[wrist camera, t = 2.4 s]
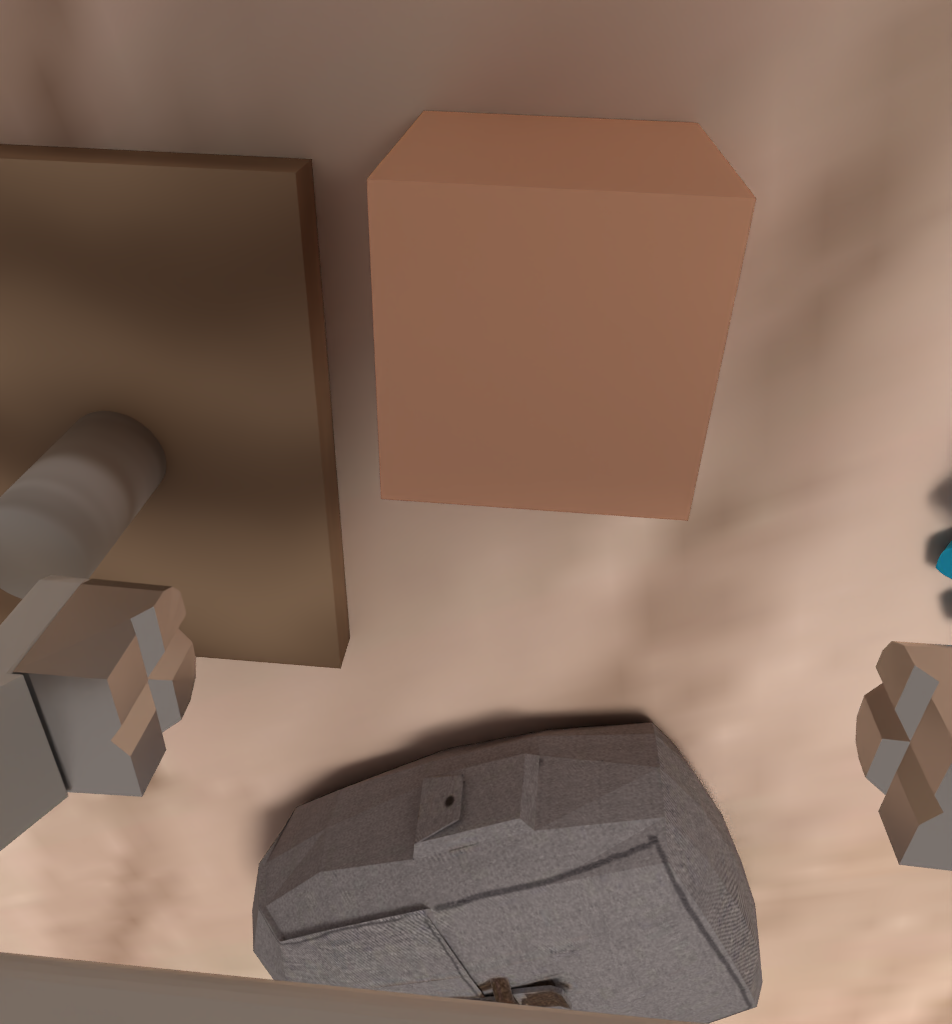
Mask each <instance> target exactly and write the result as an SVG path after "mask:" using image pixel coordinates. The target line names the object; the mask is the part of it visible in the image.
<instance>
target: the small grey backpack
mask: <svg viewBox="0 0 952 1024" xmlns="http://www.w3.org/2000/svg"><path fill="white" fill-rule="evenodd" d="M252 914H253V951H254V953H255V954H256V955H257V957H258V958H259V960H260V961H261V962H262V964H263V965H264V967H265V968H266V970H267V971H268V972H269V974H270V975H271V977H272V978H273V979H274V980H280V981H290V982H300V983H310V984H320V985H330V986H340V987H350V988H360V989H369V990H379V991H389V992H399V993H409V994H419V995H429V996H439V997H449V998H459V999H469V1000H479V1001H489V1002H499V1003H509V1004H518V1005H528V1006H538V1007H548V1008H558V1009H568V1010H578V1011H588V1012H598V1013H608V1014H618V1015H628V1016H638V1017H648V1018H658V1019H668V1020H678V1021H688V1022H698V1023H711V1022H714V1021H717V1020H720V1019H723V1018H726V1017H729V1016H731V1015H734V1014H737V1013H740V1012H743V1011H746V1010H749V1009H752V1008H755V1007H757V1004H758V999H759V995H760V991H761V986H762V972H761V961H760V950H759V939H758V929H757V919H756V909H755V903H754V899H753V896H752V893H751V890H750V887H749V884H748V881H747V878H746V875H745V871H744V868H743V865H742V862H741V859H740V857H739V855H738V852H737V850H736V847H735V845H734V843H733V840H732V838H731V835H730V833H729V831H728V828H727V826H726V823H725V821H724V819H723V816H722V814H721V813H720V811H719V810H718V808H717V807H716V805H715V804H714V802H713V801H712V799H711V798H710V796H709V795H708V793H707V792H706V790H705V789H704V787H703V785H702V784H701V782H700V781H699V779H698V778H697V776H696V775H695V773H694V772H693V770H692V769H691V767H690V766H689V765H688V763H687V762H686V760H685V759H684V757H683V756H682V755H681V753H680V752H679V750H678V749H677V747H676V746H675V745H674V744H673V743H672V742H671V741H670V740H669V739H668V738H667V737H666V736H665V735H664V734H663V733H662V732H661V731H660V730H659V729H658V728H657V727H656V726H655V725H654V724H653V723H637V724H623V725H609V726H595V727H580V728H566V729H552V730H544V731H539V732H534V733H529V734H524V735H518V736H513V737H508V738H503V739H497V740H492V741H487V742H482V743H476V744H471V745H466V746H461V747H455V748H450V749H447V750H444V751H440V752H438V753H435V754H432V755H430V756H427V757H424V758H422V759H419V760H416V761H414V762H411V763H408V764H406V765H403V766H400V767H398V768H395V769H392V770H390V771H387V772H384V773H382V774H379V775H376V776H374V777H371V778H369V779H366V780H363V781H361V782H358V783H356V784H353V785H350V786H348V787H345V788H343V789H340V790H338V791H335V792H333V793H330V794H328V795H325V796H323V797H321V798H318V799H316V800H313V801H311V802H308V803H306V804H303V805H301V806H298V807H296V809H295V810H294V812H293V814H292V815H291V817H290V819H289V820H288V822H287V824H286V825H285V827H284V829H283V830H282V832H281V833H280V834H279V836H278V837H277V839H276V840H275V842H274V843H273V845H272V846H271V847H270V849H269V850H268V852H267V853H266V855H265V856H264V858H263V859H262V860H261V862H260V863H259V868H258V875H257V882H256V889H255V895H254V902H253V909H252Z"/></svg>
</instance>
